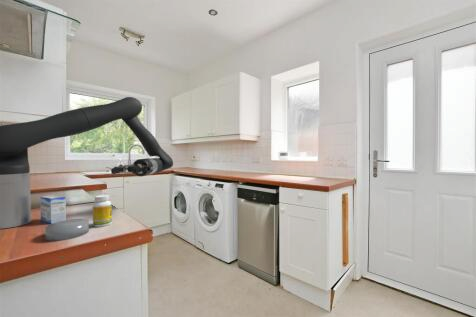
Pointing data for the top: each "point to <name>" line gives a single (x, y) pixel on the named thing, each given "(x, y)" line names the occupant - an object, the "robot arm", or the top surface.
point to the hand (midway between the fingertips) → (122, 171)
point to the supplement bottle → (102, 211)
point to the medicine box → (53, 209)
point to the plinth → (66, 229)
